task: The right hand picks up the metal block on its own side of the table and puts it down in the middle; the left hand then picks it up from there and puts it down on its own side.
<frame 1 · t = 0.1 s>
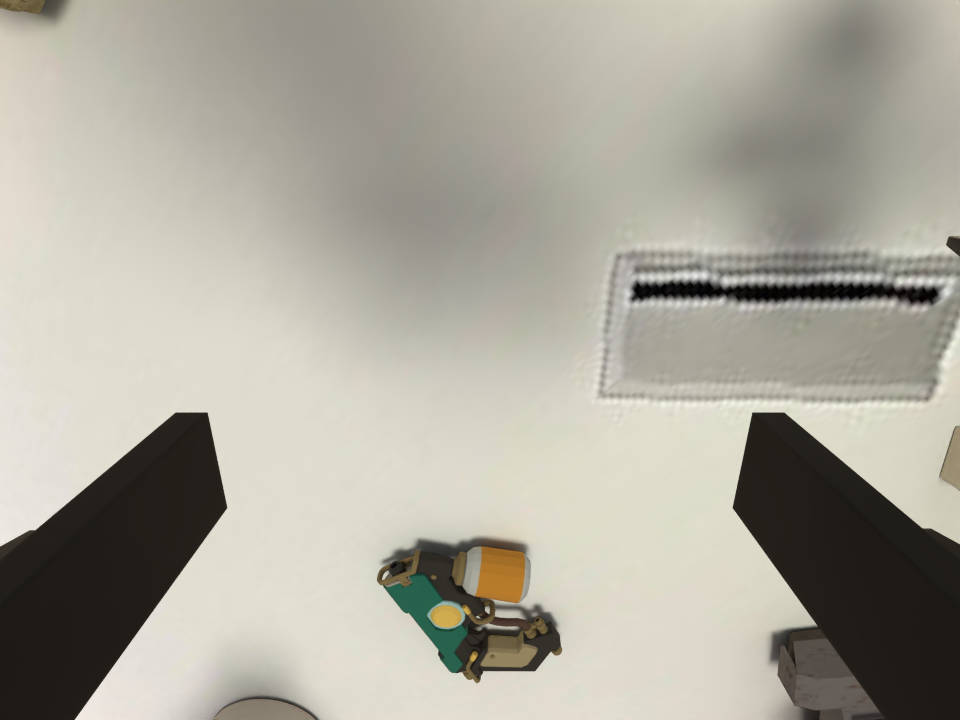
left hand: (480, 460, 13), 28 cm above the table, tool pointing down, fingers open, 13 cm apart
spray gun: (473, 599, 51), on the table
bust sculpture: (261, 712, 57), on the table
toy: (887, 687, 55), on the table
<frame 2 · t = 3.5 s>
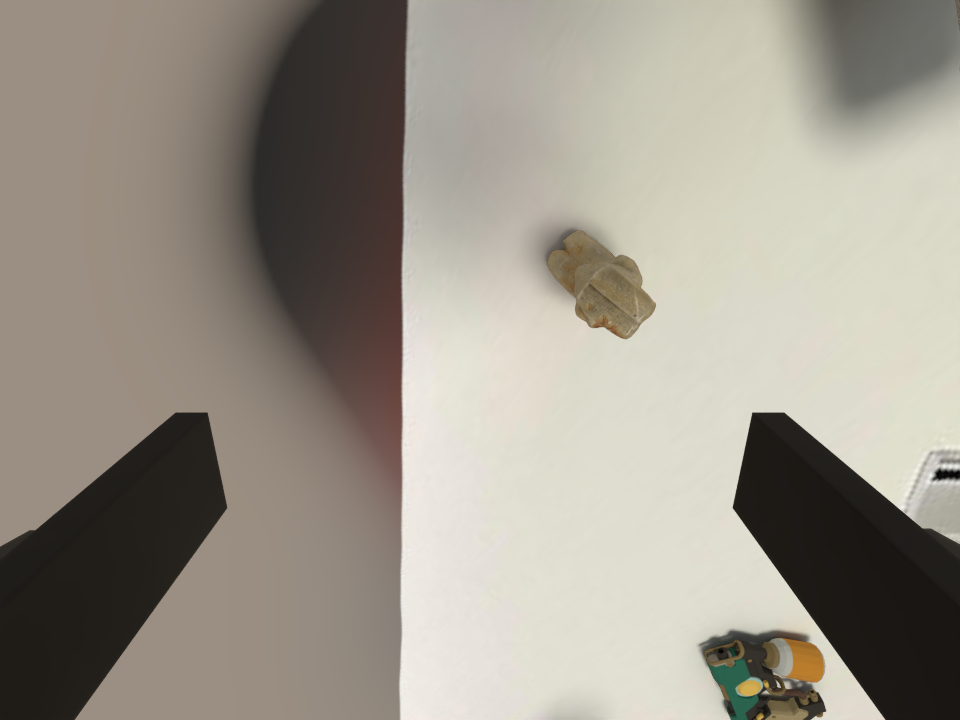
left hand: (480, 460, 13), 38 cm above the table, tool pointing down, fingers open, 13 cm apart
spray gun: (758, 673, 68), on the table
sculpture: (584, 267, 49), on the table
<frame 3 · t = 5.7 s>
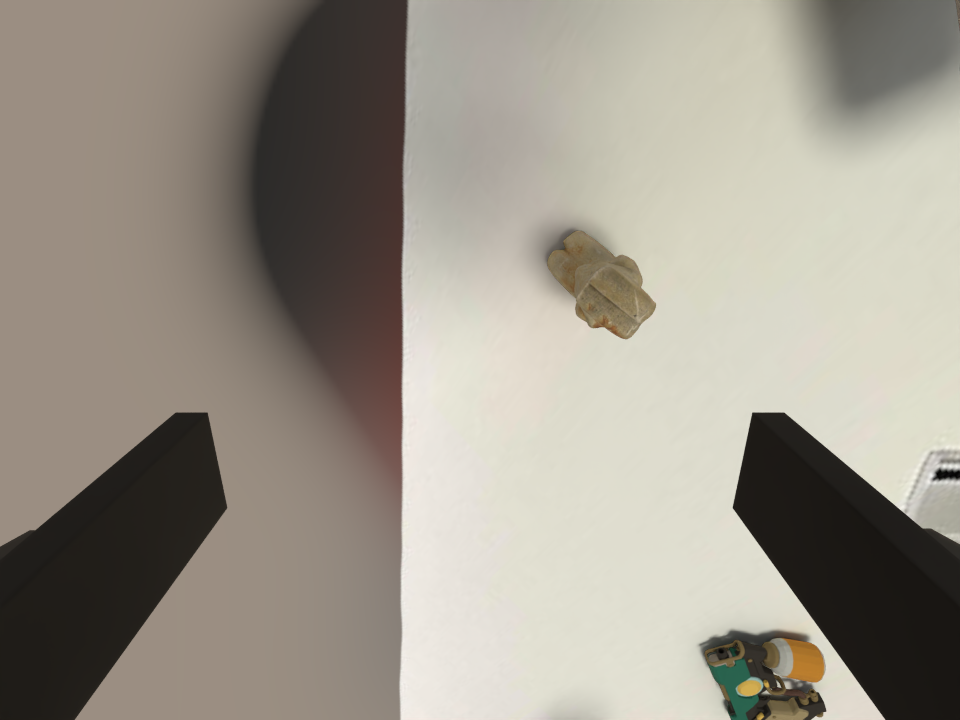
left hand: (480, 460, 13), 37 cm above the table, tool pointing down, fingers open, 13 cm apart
spray gun: (758, 673, 68), on the table
sculpture: (584, 267, 49), on the table
when the right hand's fingers open (2 cm above the table, at t = 8.0 s): block drops 1 cm, on the table.
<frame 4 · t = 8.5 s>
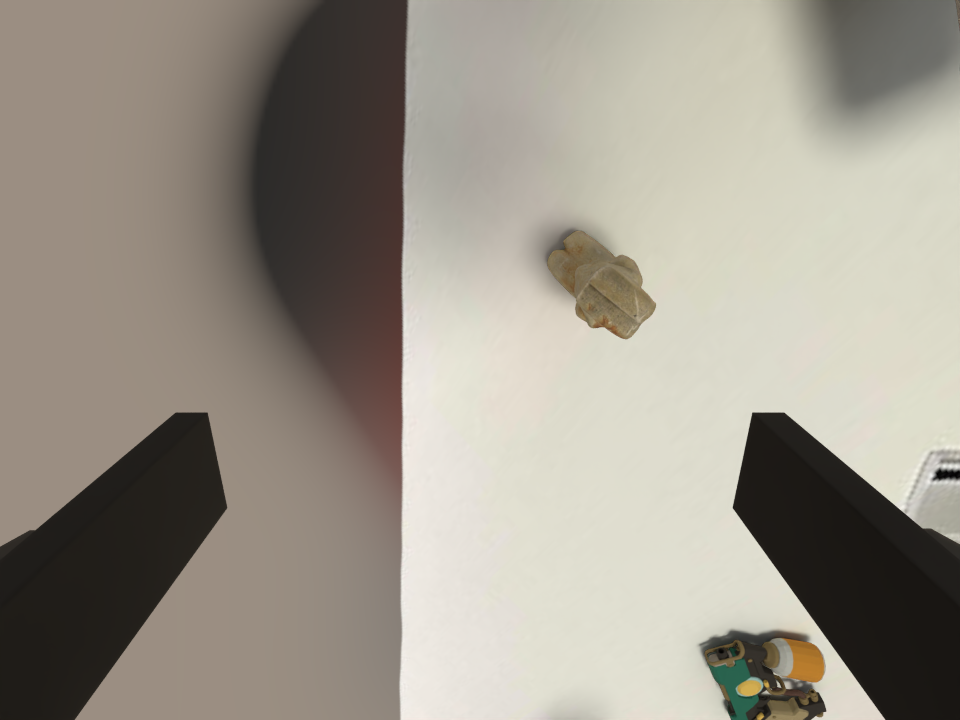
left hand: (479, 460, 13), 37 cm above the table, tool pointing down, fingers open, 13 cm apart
spray gun: (758, 673, 68), on the table
sculpture: (584, 267, 49), on the table
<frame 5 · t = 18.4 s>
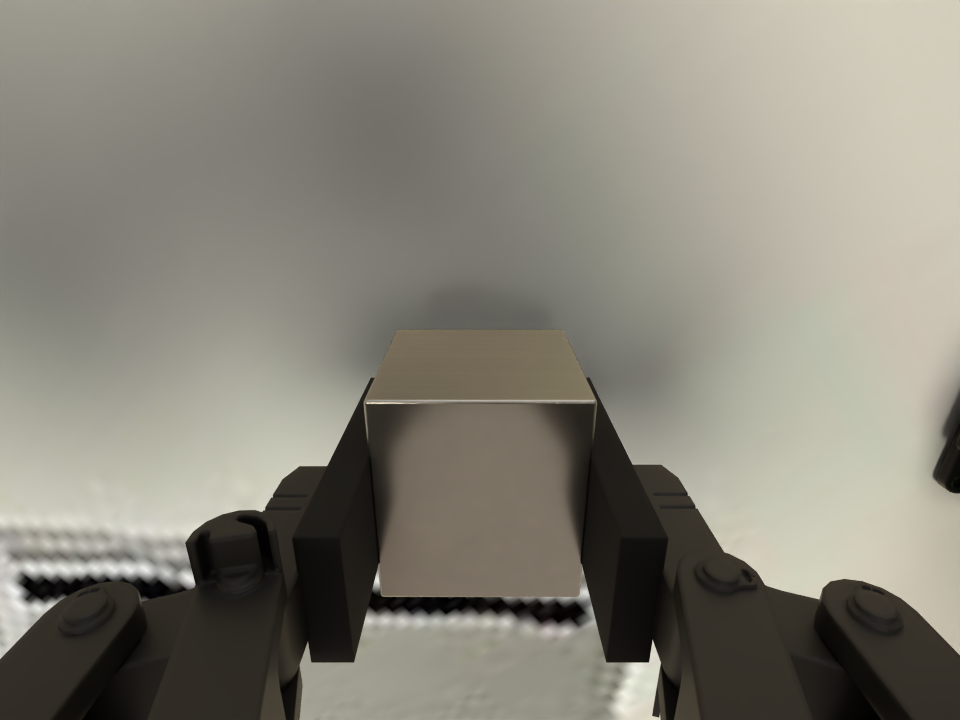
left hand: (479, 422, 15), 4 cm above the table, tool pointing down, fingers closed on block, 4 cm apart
block: (480, 411, 15), point 3 cm above the table, touching left hand
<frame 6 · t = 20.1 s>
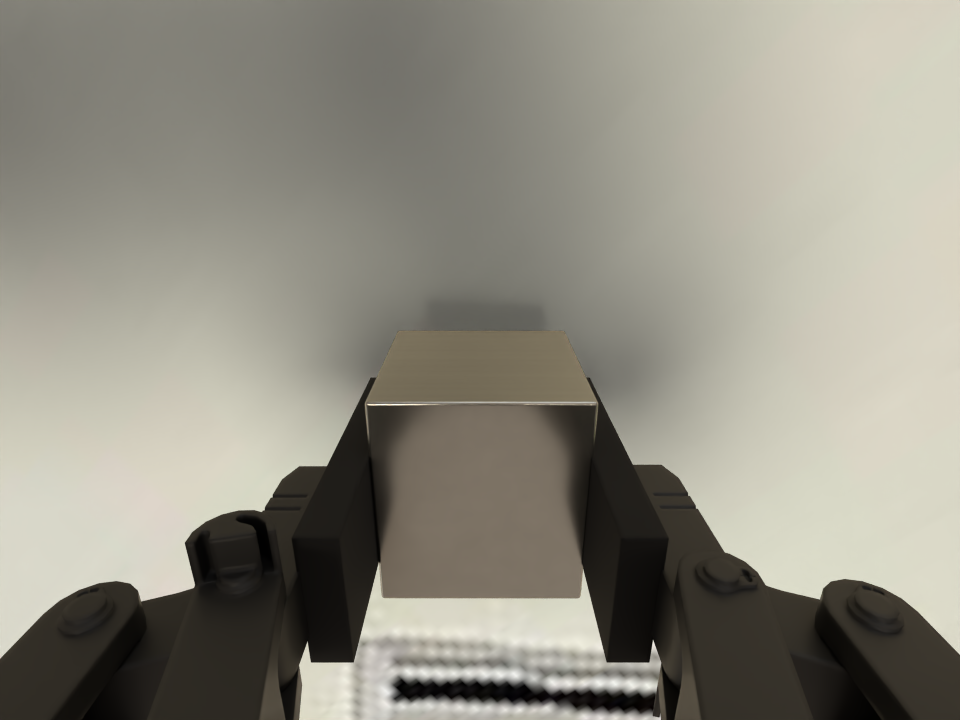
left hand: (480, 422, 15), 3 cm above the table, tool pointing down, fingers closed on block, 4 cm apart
block: (481, 412, 15), point 3 cm above the table, touching left hand
when the left hand's fingers open (1 cm above the table, at t = 22.1 s): block stays where it is, on the table.
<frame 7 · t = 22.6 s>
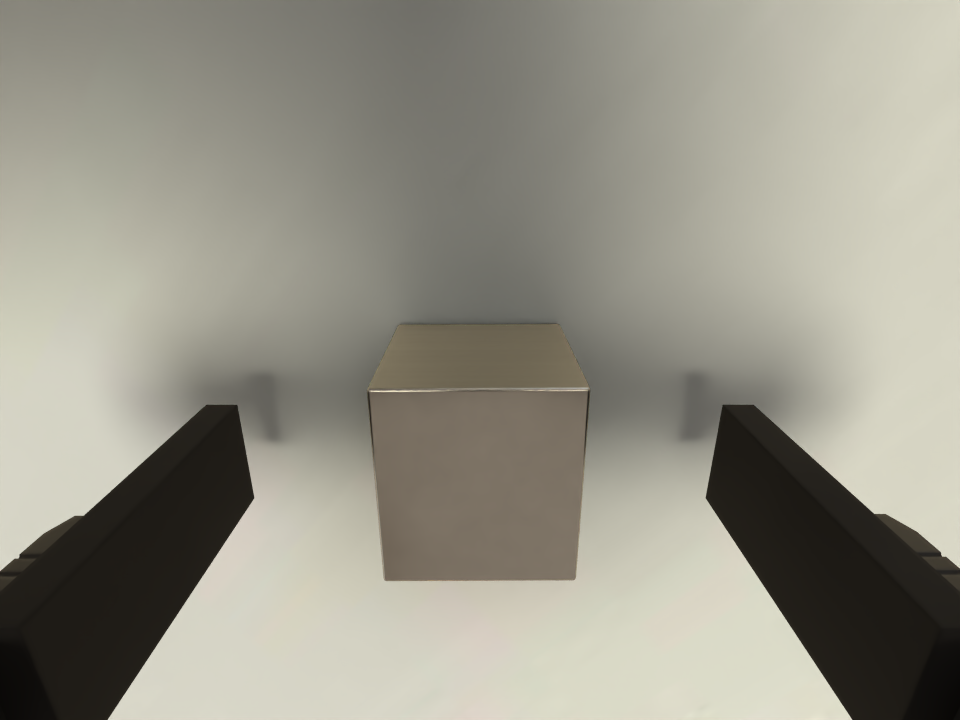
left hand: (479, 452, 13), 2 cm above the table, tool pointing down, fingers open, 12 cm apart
block: (479, 403, 16), on the table
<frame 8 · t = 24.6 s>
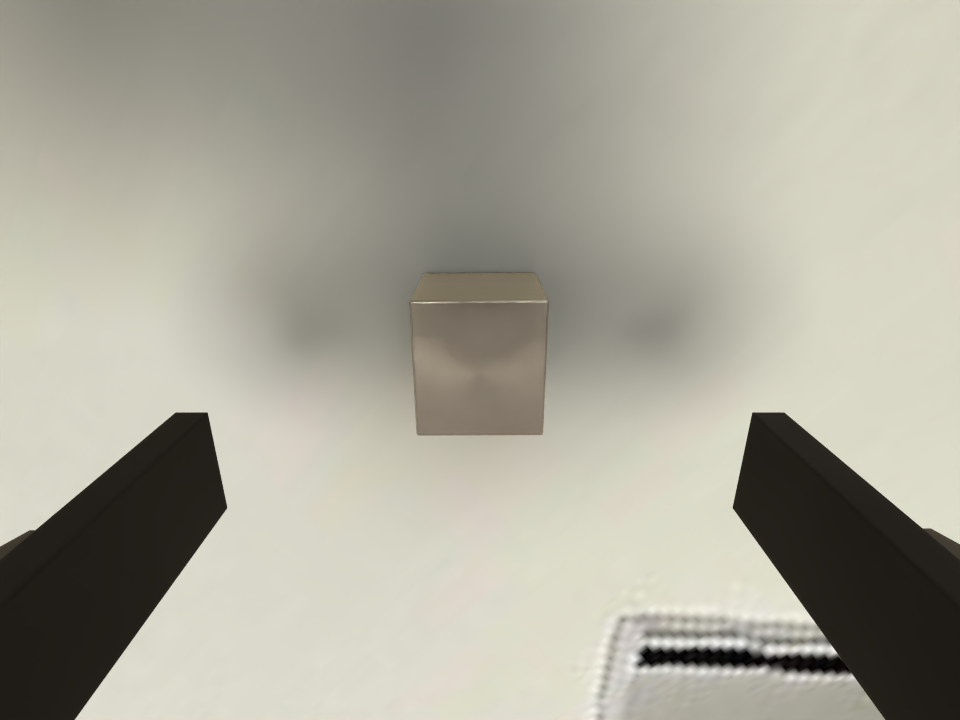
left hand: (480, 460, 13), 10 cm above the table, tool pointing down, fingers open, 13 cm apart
block: (479, 331, 22), on the table
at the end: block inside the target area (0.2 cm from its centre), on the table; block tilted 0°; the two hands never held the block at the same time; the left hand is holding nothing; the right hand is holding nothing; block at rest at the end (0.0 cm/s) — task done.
